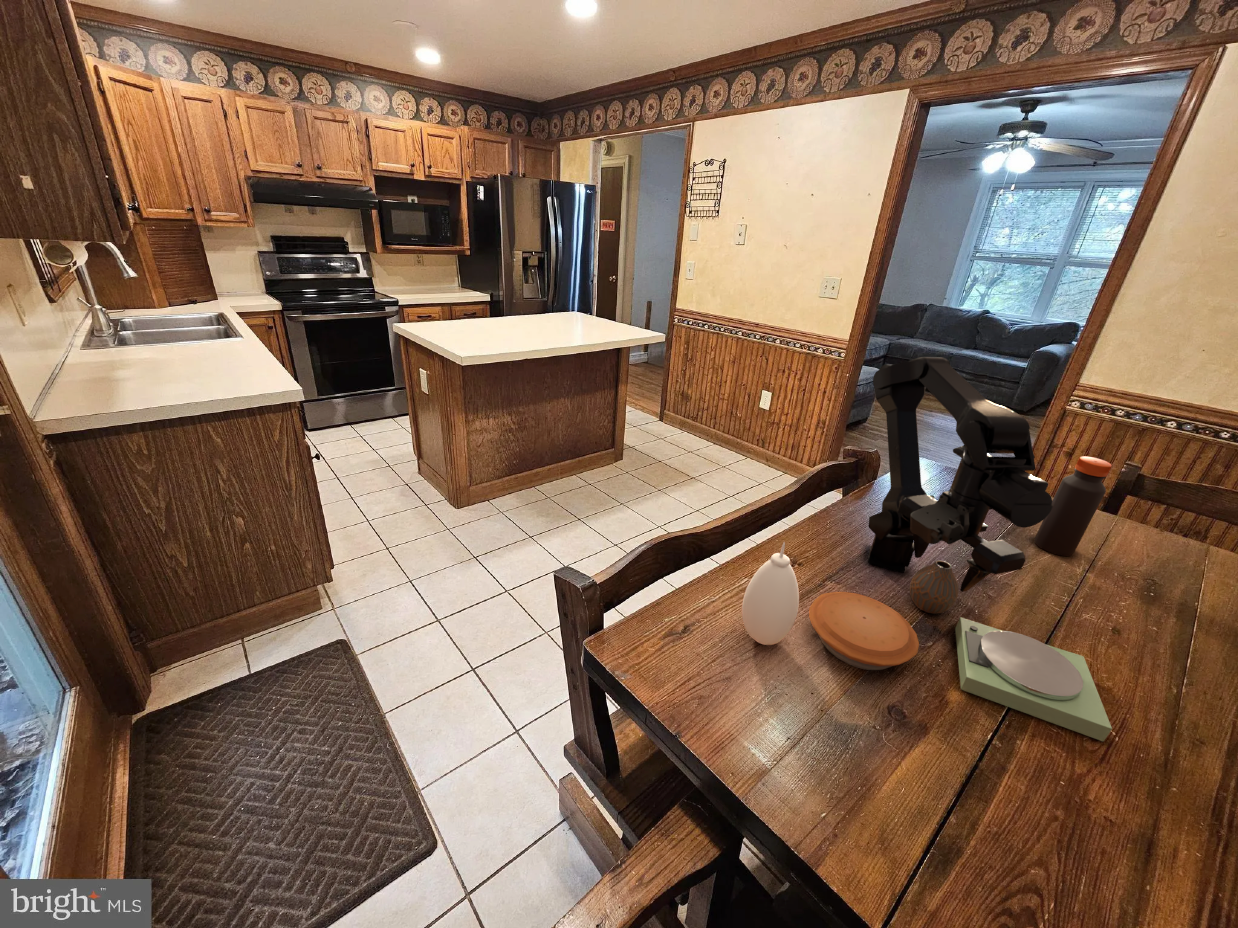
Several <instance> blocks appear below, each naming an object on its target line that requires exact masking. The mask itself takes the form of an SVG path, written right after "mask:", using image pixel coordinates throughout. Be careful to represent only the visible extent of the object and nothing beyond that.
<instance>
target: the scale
mask: <svg viewBox="0 0 1238 928" xmlns="http://www.w3.org/2000/svg"><path fill="white" fill-rule="evenodd" d="M954 630H955V631H954V632H955V642H956V651H957V662H958V672H959V674H958V675H959V684H960V690H961V691H963V692H966V693H970V694H973V695H975V696H978V697H980V698H983V699H985V700H988V701H991V702H994V703H997V704H999V705H1003V706H1005V707H1007V708H1010V709H1013V710H1016V711H1019V712H1021V713H1024V714H1027V715H1030V716H1032V717H1035V718H1038V719H1040V720H1043V721H1045V722H1048V723H1051V724H1054V725H1057V726H1059V727H1062V728H1064V729H1068V730H1070V731H1073V732H1075V733H1079V734H1081V735H1084V736H1087V737H1089V738H1092V739H1095V740H1097V741H1100V742H1104V741H1105V740H1106V739H1107V737H1108V736H1109V734H1111V732H1112V730H1113V727H1112V725H1111V722H1110V720H1109V717H1108V715H1107V712H1106V710H1105V706H1104V704H1103V702H1102V700H1101V697H1100V694H1099V691H1098V689H1097V687H1096V684H1095V681H1094V679H1093V676H1092V674H1091V671H1090V669H1089V666H1088V664H1087V661H1086V659H1085V657H1084V655H1081V654H1077V653H1074V652H1071V651H1068V650H1065V649H1062V648H1059V647H1056V646H1052V645H1049V644H1047V645H1048V646H1049V647H1051V648H1053V649H1054V650H1056V651H1057V652H1059V653H1060V654H1061V655H1063V656H1064V657H1065V658H1066V659H1068V660H1069V661H1070V662H1071V663H1072V664H1073V665H1074V666H1075V667H1076V669H1077V670H1078V671H1079V673H1080V675H1081V677H1082V679H1083V688H1082V690H1081V692H1080V693H1079V695H1078V696H1076V697H1075V698H1072V699H1068V700H1055V699H1049V698H1045V697H1041V696H1038V695H1035V694H1032V693H1030V692H1027V691H1025V690H1023V689H1021V688H1019V687H1017V686H1015V685H1013V684H1012V683H1010V682H1009V681H1007V680H1006V679H1004V678H1003V677H1001V676H1000V675H999V674H998V673H996V672H995V671H994V670H993V669H992V668H991V667H990V666H989V665H988V664H987V662H986V661H985V660H984V658H983V657H982V655H981V653H980V649H979V644H980V641H981V639H982V637H983V636H984V635H985V634H987V633H989V632H992V631H1003V629H1000V628H995V627H992V626H989V625H986V624H983V623H980V622H977V621H975V620H974V621H973V620H970V619H967V618H964V617H961V616H960V617H959V619H958V621H957V624H956V625H955V628H954Z"/></svg>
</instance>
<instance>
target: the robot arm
mask: <svg viewBox="0 0 1238 928" xmlns="http://www.w3.org/2000/svg"><path fill="white" fill-rule="evenodd" d="M872 384H873V390H874V395H875V400H876V401H877V403H878V404H879V405H880V408H882V409H883V411H884V412H885V415H886V417H885V418H886V432H887V449H888V464H889V479H890V480H889V481H890V483H889V484H890V488H889V490H888V492H887V494H886V495H885V497H884V499H883V500H882V503H881V511H880V512H878V513H876V514H874V515H873V514H872V515H870V516H869V517H868V529H869V530H870V531H871V532H873V534H874V537H873V540H872V543H871V545H870V546H869V549H868V556H867V563H868V564H869V565H873V566H877V567H879V568H884V569H886V570H891V571H893V572H896V573H899V574H905V573H906V568H908V567H909V566H910V563H911V561H912V558H913V555H914V558H915V559H921V558H922V557H923V555H924V554H925V552H926V550H927V549H928V547H929V545H936V544H939V543H940V542H944V543H946V544H947V545H952V544H953V543H956V542H958V541H959V540H960V541H962V542H964V543H965V544H967V545H968V546H969V547H971V548H973V549H972V551H971V554H970V556H971V559H966V562H967V564H968V565H969V566H968V569H967V571H966V574H965V575H964V578H963V580H962V582H961V584H960V588H959V590H960V592H961V593H965V592H968V591H969V590H970V589H971V588H973V587H975V586H976V585H977V584H978V583H979V582H981V581H983V580H984V579H985V578H986V577H988V576H989V575H990V574H993V575H999V574H1005V573H1010V572H1016V571H1020V570H1022V569H1023V567H1024V565H1025V563H1026V555H1025V552H1024V551H1022V550H1021V549H1019V548H1017V547H1015V546H1014V545H1012V544H1010V543H1009V542H1007V541H1005V540H1004V539H997V540H992V541H991V540H990V541H988V540H986V539H984V537H982V536H980V535H979V534H980V533H985V532H987V530H988V527H989V525H988V524H985V520H986V518H987V516H988V513H989V511H990V510H993V511H994V512H996V513H997V514H999V515H1000V516H1002V517H1003V518H1004V519H1006V520H1007V521H1009V522H1010V524H1013V526H1016V527H1018V528H1031V527H1033V526H1036V525H1038V524H1040V523H1042V522H1043V520H1044V519H1045V518H1046V517H1047V516H1048V515H1049V513H1050V512H1051V510H1052V507H1053V506H1052V500H1053V498H1052V495H1051V494H1050V493H1049V492H1048V491H1047V489H1048V486H1049V482H1047V481H1045V480H1044V479H1042V478H1040V477H1036V476H1034V475H1032V474H1031V473H1028V472H1032V471H1033V472H1034V471H1036V463H1035V458H1036V457H1035V454H1034V449H1033V444H1032V437H1031V432H1030V429H1031V426H1030V424H1029V422H1028V421H1027V419H1026V418H1025V417H1024V416H1022V415H1020V414H1018V413H1017V412H1015V411H1014V410H1012V409H1010V408H1008V407H1006V406H1003V405H999V404H997V403H994V402H992V401H990V400H988V399H986V398H985V397H984V396H983V395H982V394H981V393H980V392H979V391H978V390H977V389H976V388H975V387H974V386H972V385H971V383H969V381H967V380H966V379H965V378H964V377H963V376H962V375H961V374H960V373H959V372H958V371H957V370H955V368H953V367H952V366H951V363H950V361H949V360H948V359H947V358H945V357H942V356H940V357H939V356H938V357H937V356H920V357H917V358H914V359H912V360H908V361H904V362H899V363H894V364H889V363H887V364H883V365H882V366H880V368H879V369H878V370H876V371H875V373H874V374H873V377H872ZM926 390H927V391H928V392H929V393H930V394H931V395H932V396H933V397H934V399H936V400H937V401H938V403H939V404H941V406H943V408H944V409H945V410H946V411H947V412H948V413H949V414H950V415H951V416H952V417H953V419H954V420H955V422H956V426H955V433H956V434H957V436H958V437H959V439H960V441H961V442H962V444H963V445H961V446H957V447H954V448H953V449H952V453H953V454H955V455H957V456H958V457H960V462H959V464H958V467H957V469H956V472H955V475H954V477H953V480H952V482H951V485H950V487H949V490H947V491H942V493H941V494H940V495H939V497H938V500H937V499H936V497H935V496H934V495H931V494H930V495H929V494H928V493H927V492H926V491H925V489H924V488H923V486H922V474H921V463H920V462H921V461H920V460H921V459H920V446H919V445H920V444H919V432H918V420H917V418H918V417H917V409H918V407H919V405H920V404H921V402H922V401H923V399H924V397H925V395H926V394H925V393H926ZM991 454H1001V455H1002V454H1008V455H1009V454H1013V455H1014V456H993V455H991Z"/></svg>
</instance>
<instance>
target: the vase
mask: <svg viewBox="0 0 1238 928" xmlns="http://www.w3.org/2000/svg"><path fill="white" fill-rule="evenodd" d="M959 590H960V588H959V581H958V580H957V578H956V576H955V574H954V571H953V567H952V565H951V564H950V563H949V562H947V561H944V560H939V559H938V560H936V561H934V562H933V563H931V564H928V565H926V566H924V567H922V568H920V569H919V570H917V572H915V574H914V575H913V576H912V578H911V581H910V584H909V595H910V598H911V601H912V602H913V603H914V605H915V606H916V607H917V608H918V609H920V610H921V611H923V612H925V613H929V614H935V615H936V614H941V613H944V612H947V611H948V610H950V609H951V608H952V607H953V606H954V605H955V603H956V601H957V599H958V596H959Z"/></svg>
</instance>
